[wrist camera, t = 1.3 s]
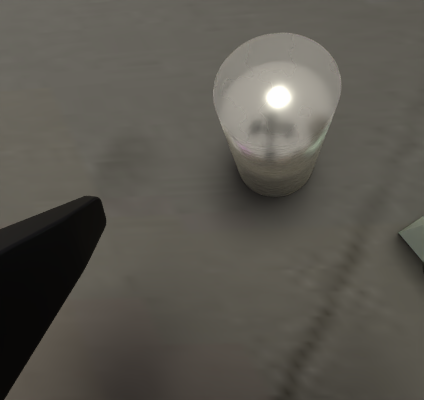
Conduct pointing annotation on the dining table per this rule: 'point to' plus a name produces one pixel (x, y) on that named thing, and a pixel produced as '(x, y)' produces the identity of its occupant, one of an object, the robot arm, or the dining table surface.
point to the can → (276, 109)
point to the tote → (415, 237)
